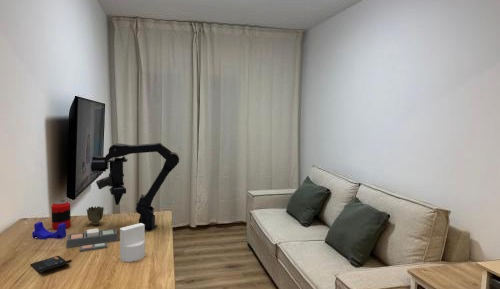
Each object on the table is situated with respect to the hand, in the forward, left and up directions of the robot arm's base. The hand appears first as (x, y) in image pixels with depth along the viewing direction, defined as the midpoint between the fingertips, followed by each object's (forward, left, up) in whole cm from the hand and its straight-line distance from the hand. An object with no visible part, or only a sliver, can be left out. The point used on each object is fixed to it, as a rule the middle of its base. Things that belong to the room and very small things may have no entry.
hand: (116, 204), depth 152 cm
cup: (+14, -3, -12) cm, 19 cm away
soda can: (+26, +5, -12) cm, 29 cm away
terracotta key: (+7, +18, -11) cm, 22 cm away
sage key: (-3, +10, -11) cm, 15 cm away
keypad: (+2, +14, -12) cm, 19 cm away
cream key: (+2, +14, -10) cm, 17 cm away
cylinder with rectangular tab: (-22, +22, -12) cm, 33 cm away
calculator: (+1, +37, -13) cm, 39 cm away
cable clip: (+22, +16, -12) cm, 30 cm away
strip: (-3, +20, -12) cm, 24 cm away
